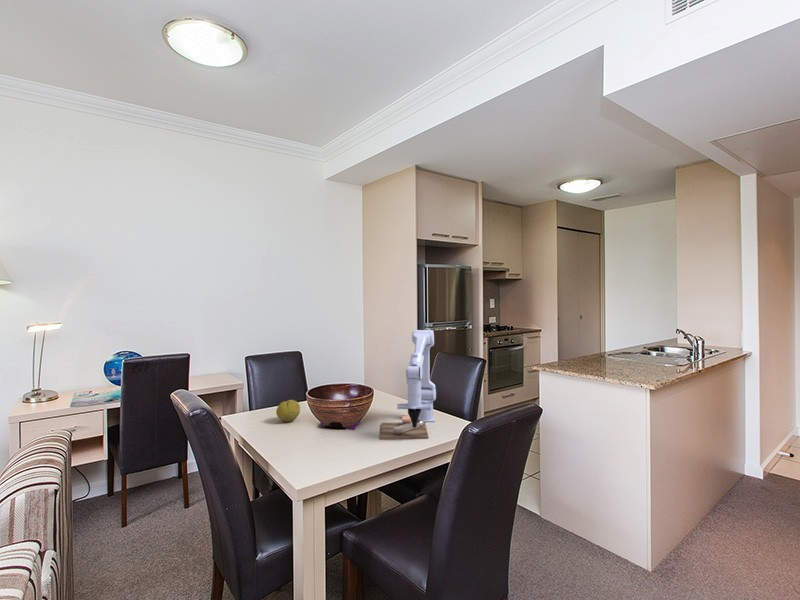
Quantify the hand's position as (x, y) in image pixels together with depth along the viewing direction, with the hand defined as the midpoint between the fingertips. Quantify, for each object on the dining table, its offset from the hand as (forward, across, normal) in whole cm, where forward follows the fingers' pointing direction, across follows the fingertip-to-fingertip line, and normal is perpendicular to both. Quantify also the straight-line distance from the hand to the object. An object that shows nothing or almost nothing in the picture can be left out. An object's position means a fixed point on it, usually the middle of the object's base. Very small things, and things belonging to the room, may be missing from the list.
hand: (414, 426), depth 173 cm
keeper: (+3, -3, +13) cm, 14 cm away
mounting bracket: (+5, -36, +10) cm, 38 cm away
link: (+3, -4, +7) cm, 9 cm away
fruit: (+5, -64, +13) cm, 65 cm away
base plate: (+4, -6, +7) cm, 10 cm away
